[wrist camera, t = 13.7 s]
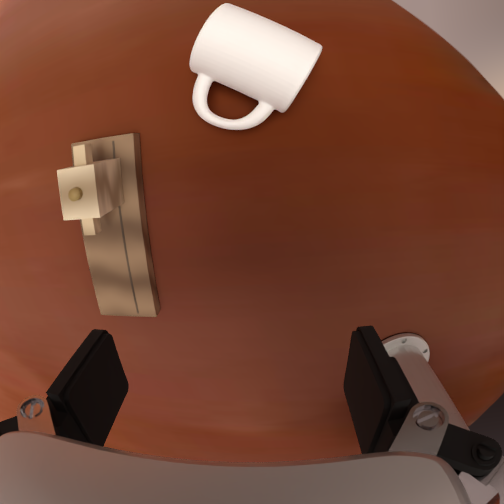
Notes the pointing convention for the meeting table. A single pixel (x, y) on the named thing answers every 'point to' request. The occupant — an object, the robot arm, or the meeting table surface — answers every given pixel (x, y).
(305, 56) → the mug
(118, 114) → the meeting table surface
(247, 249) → the meeting table surface
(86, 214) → the beige block with peg
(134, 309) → the board
